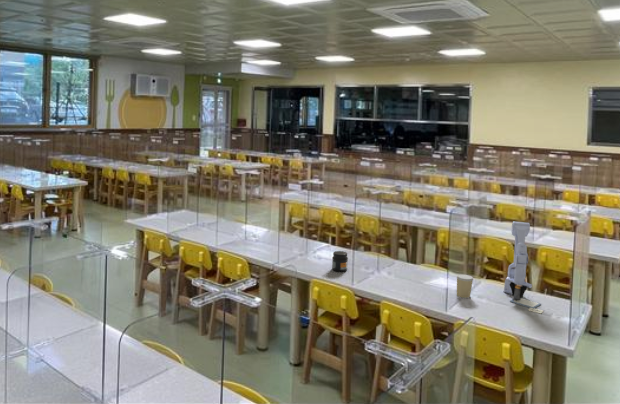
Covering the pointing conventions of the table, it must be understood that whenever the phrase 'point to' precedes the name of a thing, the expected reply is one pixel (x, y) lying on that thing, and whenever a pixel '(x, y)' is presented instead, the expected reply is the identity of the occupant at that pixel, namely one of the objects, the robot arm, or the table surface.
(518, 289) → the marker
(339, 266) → the supplement container
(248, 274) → the table surface
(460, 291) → the coffee cup
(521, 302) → the clipboard
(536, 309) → the word card
